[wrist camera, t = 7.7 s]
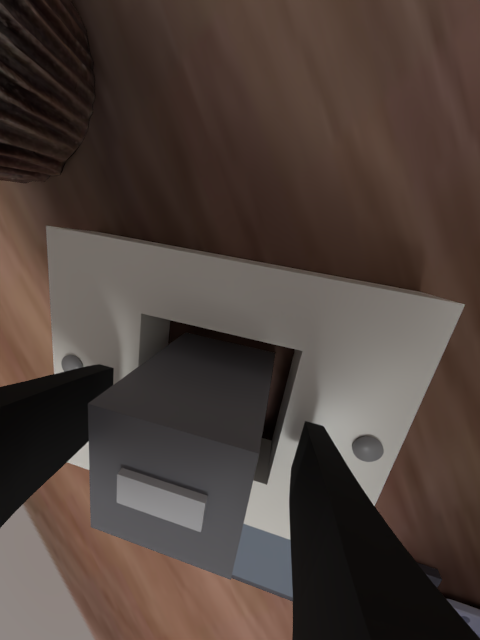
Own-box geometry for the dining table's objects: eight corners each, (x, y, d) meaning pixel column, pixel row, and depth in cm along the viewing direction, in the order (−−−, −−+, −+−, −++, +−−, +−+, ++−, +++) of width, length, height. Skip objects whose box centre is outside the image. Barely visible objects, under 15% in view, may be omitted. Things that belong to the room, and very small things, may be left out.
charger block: (275, 352, 11) (258, 460, 5) (258, 430, 12) (229, 588, 7) (185, 331, 12) (81, 408, 6) (177, 408, 13) (85, 534, 7)
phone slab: (231, 490, 14) (226, 507, 13) (431, 555, 13) (442, 581, 12) (217, 552, 16) (212, 572, 15) (394, 617, 14) (402, 645, 13)
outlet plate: (420, 291, 9) (467, 305, 7) (338, 502, 12) (350, 563, 10) (97, 231, 11) (43, 224, 9) (96, 425, 14) (57, 460, 12)
